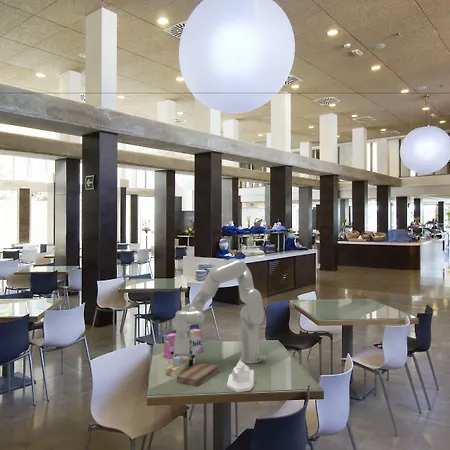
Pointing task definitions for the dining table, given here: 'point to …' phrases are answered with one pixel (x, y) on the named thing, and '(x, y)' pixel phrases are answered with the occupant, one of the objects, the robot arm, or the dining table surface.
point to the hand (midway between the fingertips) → (183, 365)
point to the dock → (197, 374)
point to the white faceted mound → (241, 378)
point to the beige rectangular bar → (178, 368)
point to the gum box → (170, 339)
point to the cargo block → (177, 361)
